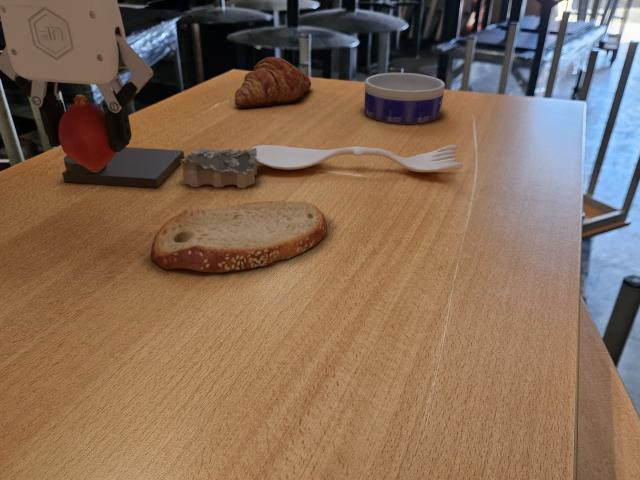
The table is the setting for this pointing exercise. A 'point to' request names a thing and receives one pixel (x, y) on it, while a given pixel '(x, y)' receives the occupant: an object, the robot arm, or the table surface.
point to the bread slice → (238, 236)
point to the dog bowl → (403, 97)
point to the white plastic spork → (308, 157)
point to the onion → (85, 135)
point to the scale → (128, 168)
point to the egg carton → (220, 167)
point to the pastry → (272, 84)
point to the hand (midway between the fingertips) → (90, 143)
